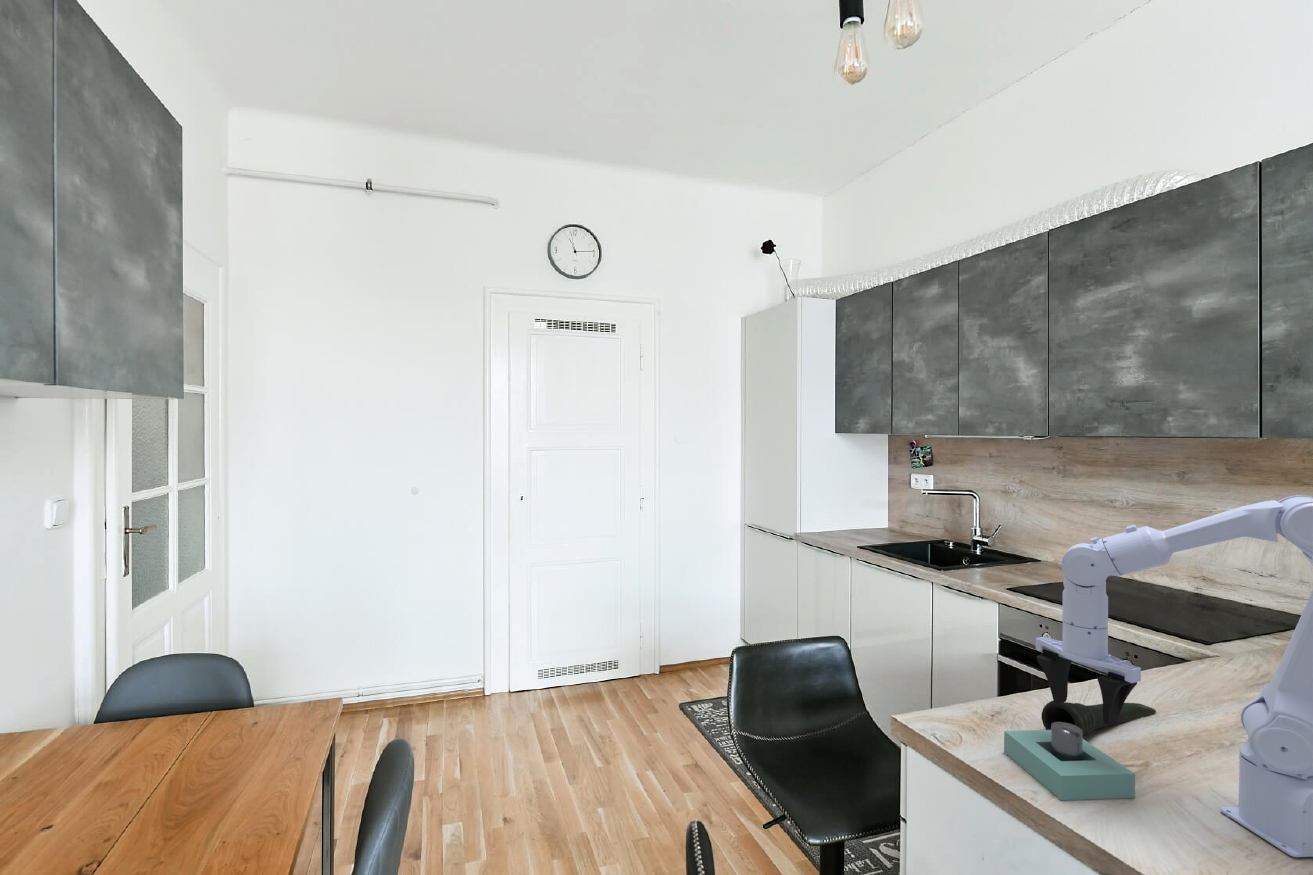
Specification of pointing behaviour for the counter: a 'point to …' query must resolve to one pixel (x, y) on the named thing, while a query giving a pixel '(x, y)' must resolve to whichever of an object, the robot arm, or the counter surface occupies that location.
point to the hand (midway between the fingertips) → (1084, 711)
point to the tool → (1089, 714)
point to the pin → (1066, 742)
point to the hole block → (1069, 768)
